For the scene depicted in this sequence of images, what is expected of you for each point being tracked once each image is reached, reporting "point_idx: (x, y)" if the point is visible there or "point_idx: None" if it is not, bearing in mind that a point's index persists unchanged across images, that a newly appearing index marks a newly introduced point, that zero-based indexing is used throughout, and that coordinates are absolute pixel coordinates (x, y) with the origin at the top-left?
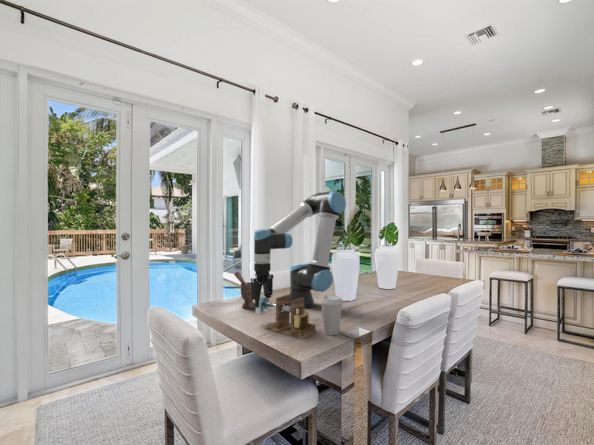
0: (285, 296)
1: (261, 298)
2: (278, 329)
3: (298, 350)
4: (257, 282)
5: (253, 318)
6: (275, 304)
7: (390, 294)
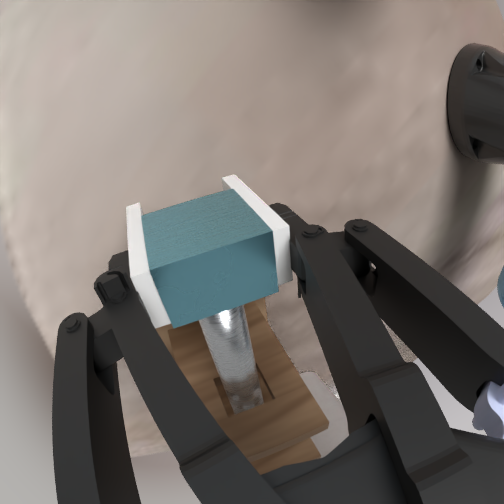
0: (286, 447)
1: (213, 278)
2: (167, 345)
3: (141, 437)
4: (231, 492)
5: (185, 67)
6: (231, 380)
7: None
